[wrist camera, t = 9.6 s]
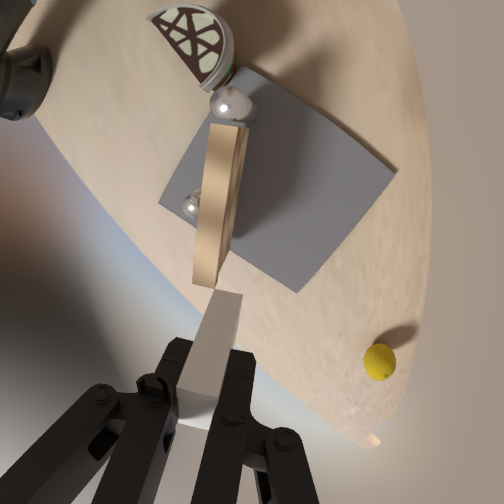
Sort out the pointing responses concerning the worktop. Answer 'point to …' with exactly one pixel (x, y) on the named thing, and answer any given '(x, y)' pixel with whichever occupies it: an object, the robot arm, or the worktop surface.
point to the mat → (287, 183)
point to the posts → (229, 108)
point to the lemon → (379, 361)
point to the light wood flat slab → (218, 200)
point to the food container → (199, 42)
